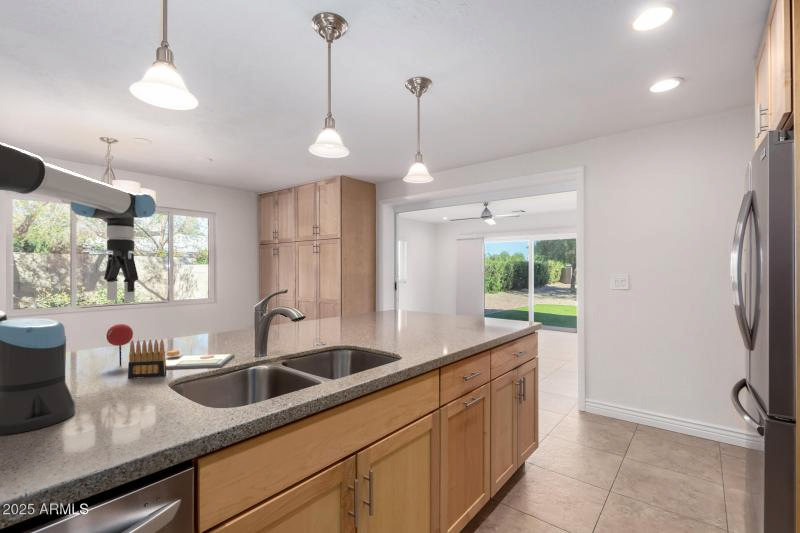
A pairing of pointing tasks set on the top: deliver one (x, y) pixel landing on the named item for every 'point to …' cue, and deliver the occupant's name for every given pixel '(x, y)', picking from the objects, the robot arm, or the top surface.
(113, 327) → the lollipop
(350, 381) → the top surface
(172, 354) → the button
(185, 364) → the board
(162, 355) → the ammunition clip
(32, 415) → the robot arm
